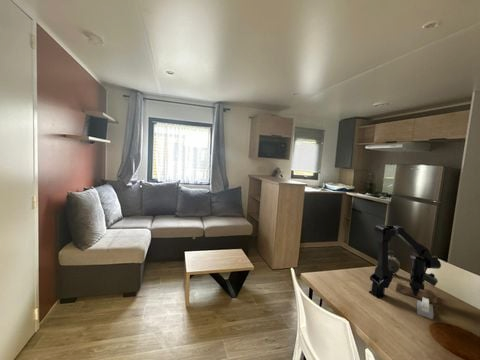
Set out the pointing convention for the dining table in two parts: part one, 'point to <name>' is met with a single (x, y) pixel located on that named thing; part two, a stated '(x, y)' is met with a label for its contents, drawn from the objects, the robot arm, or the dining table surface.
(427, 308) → the ridge stand
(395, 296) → the dining table surface
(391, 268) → the alarm clock
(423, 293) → the walnut bar
